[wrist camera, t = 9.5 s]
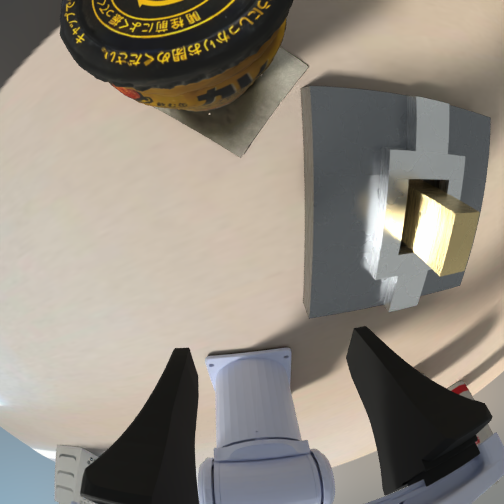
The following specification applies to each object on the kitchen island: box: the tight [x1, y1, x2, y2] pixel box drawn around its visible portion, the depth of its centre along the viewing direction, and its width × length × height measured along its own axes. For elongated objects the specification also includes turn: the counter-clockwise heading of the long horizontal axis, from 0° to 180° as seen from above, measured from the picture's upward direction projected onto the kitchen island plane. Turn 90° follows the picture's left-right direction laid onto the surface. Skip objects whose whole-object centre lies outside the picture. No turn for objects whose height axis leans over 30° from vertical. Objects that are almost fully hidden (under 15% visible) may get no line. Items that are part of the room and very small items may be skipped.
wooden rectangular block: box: [401, 179, 480, 277], centre depth 16 cm, size 4×2×7 cm, turn 4°
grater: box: [55, 445, 99, 504], centre depth 33 cm, size 10×10×20 cm
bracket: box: [370, 96, 465, 312], centre depth 17 cm, size 16×7×1 cm, turn 4°
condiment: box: [60, 0, 308, 158], centre depth 9 cm, size 7×8×12 cm
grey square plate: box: [301, 86, 491, 318], centre depth 18 cm, size 16×16×2 cm
